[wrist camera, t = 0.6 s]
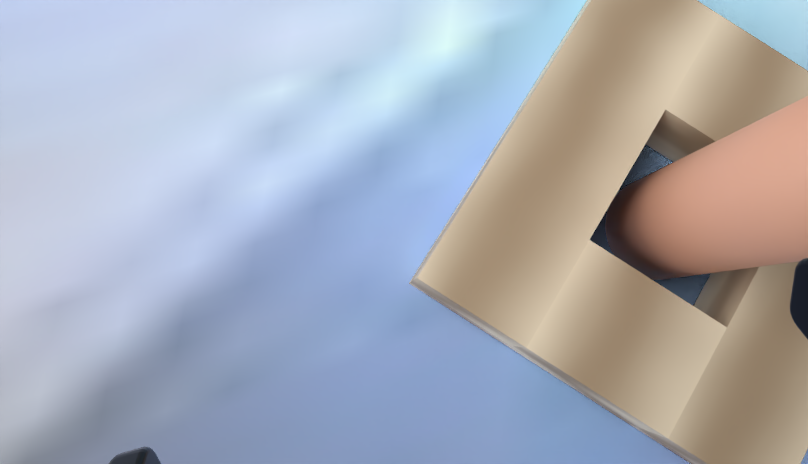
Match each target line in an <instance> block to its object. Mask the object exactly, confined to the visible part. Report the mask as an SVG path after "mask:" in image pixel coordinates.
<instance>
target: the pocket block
mask: <svg viewBox="0 0 808 464" xmlns="http://www.w3.org/2000/svg"><path fill="white" fill-rule="evenodd" d="M806 96H808V71H807V70H806V69H804V68H803V67H801V66H799V65H798V64H796V63H795V62H793V61H792V60H790V59H788V58H787V57H785V56H784V55H782V54H781V53H779V52H777V51H776V50H774V49H773V48H771V47H770V46H768V45H766V44H765V43H763V42H762V41H760V40H758V39H757V38H755V37H754V36H752V35H751V34H749V33H747V32H746V31H744V30H743V29H741V28H740V27H738V26H736V25H735V24H733V23H732V22H730V21H729V20H727V19H725V18H724V17H722V16H721V15H719V14H717V13H716V12H714V11H713V10H711V9H710V8H708V7H706V6H705V5H703V4H702V3H700V2H699V1H697V0H587V1H586V3H585V5H584V6H583V8H582V9H581V11H580V12H579V14H578V16H577V17H576V19H575V20H574V22H573V24H572V25H571V27H570V28H569V30H568V32H567V33H566V35H565V36H564V38H563V39H562V41H561V43H560V44H559V46H558V47H557V49H556V51H555V52H554V54H553V55H552V57H551V59H550V60H549V62H548V63H547V65H546V66H545V68H544V70H543V71H542V73H541V74H540V76H539V78H538V79H537V81H536V82H535V84H534V86H533V87H532V89H531V90H530V92H529V93H528V95H527V97H526V98H525V100H524V101H523V103H522V105H521V106H520V108H519V109H518V111H517V113H516V114H515V116H514V117H513V119H512V120H511V122H510V124H509V125H508V127H507V128H506V130H505V132H504V133H503V135H502V136H501V138H500V140H499V141H498V143H497V144H496V146H495V147H494V149H493V151H492V152H491V154H490V155H489V157H488V159H487V160H486V162H485V163H484V165H483V167H482V168H481V170H480V171H479V173H478V175H477V176H476V178H475V179H474V181H473V182H472V184H471V186H470V187H469V189H468V190H467V192H466V194H465V195H464V197H463V198H462V200H461V202H460V203H459V205H458V206H457V208H456V209H455V211H454V213H453V214H452V216H451V217H450V219H449V221H448V222H447V224H446V225H445V227H444V229H443V230H442V232H441V233H440V235H439V236H438V238H437V240H436V241H435V243H434V244H433V246H432V248H431V249H430V251H429V252H428V254H427V256H426V257H425V259H424V260H423V262H422V263H421V265H420V267H419V268H418V270H417V271H416V273H415V275H414V276H413V278H412V279H411V281H410V283H409V284H411V285H412V286H414V287H416V288H417V289H419V290H420V291H422V292H423V293H425V294H427V295H428V296H430V297H431V298H433V299H434V300H436V301H437V302H439V303H441V304H442V305H444V306H445V307H447V308H448V309H450V310H452V311H453V312H455V313H456V314H458V315H459V316H461V317H462V318H464V319H466V320H467V321H469V322H470V323H472V324H473V325H475V326H477V327H478V328H480V329H481V330H483V331H484V332H486V333H487V334H489V335H491V336H492V337H494V338H495V339H497V340H498V341H500V342H502V343H503V344H505V345H506V346H508V347H509V348H511V349H513V350H514V351H516V352H517V353H519V354H520V355H522V356H523V357H525V358H527V359H528V360H530V361H531V362H533V363H534V364H536V365H538V366H539V367H541V368H542V369H544V370H545V371H547V372H548V373H550V374H552V375H553V376H555V377H556V378H558V379H559V380H561V381H563V382H564V383H566V384H567V385H569V386H570V387H572V388H573V389H575V390H577V391H578V392H580V393H581V394H583V395H584V396H586V397H588V398H589V399H591V400H592V401H594V402H595V403H597V404H598V405H600V406H602V407H603V408H605V409H606V410H608V411H609V412H611V413H613V414H614V415H616V416H617V417H619V418H620V419H622V420H624V421H625V422H627V423H628V424H630V425H631V426H633V427H634V428H636V429H638V430H639V431H641V432H642V433H644V434H645V435H647V436H649V437H650V438H652V439H653V440H655V441H656V442H658V443H659V444H661V445H663V446H664V447H666V448H667V449H669V450H670V451H672V452H674V453H675V454H677V455H678V456H680V457H681V458H683V459H684V460H686V461H688V462H689V463H691V464H801V461H802V459H803V457H804V455H805V453H806V451H807V449H808V340H807V338H806V337H805V336H804V335H803V333H802V332H801V331H800V329H799V328H798V327H797V326H796V324H795V323H794V321H793V319H792V316H791V313H790V299H791V292H792V285H793V278H794V271H795V267H796V265H797V264H798V262H799V261H798V262H791V263H783V264H776V265H768V266H761V267H753V268H746V269H738V270H731V271H723V272H716V273H711V274H710V276H709V278H708V280H707V282H706V283H705V285H704V287H703V289H702V291H701V293H700V295H699V296H698V298H697V300H696V302H695V304H694V306H693V305H691V304H689V303H688V302H686V301H685V300H683V299H682V298H680V297H678V296H677V295H675V294H674V293H672V292H671V291H669V290H667V289H666V288H664V287H663V286H661V285H660V284H658V283H656V282H655V281H653V280H652V279H650V278H649V277H647V276H646V275H644V274H642V273H641V272H639V271H638V270H636V269H635V268H633V267H631V266H630V265H628V264H627V263H625V262H624V261H622V260H620V259H619V258H617V257H616V256H614V255H613V254H611V253H609V252H608V251H606V250H605V249H603V248H602V247H600V246H598V245H597V244H595V243H594V242H592V241H591V240H590V238H591V236H592V235H593V233H594V231H595V230H596V228H597V226H598V224H599V223H600V221H601V219H602V218H603V216H604V214H605V212H606V211H607V209H608V207H609V206H610V204H611V202H612V200H613V199H614V197H615V195H616V194H617V192H618V190H619V188H620V187H621V185H622V183H623V182H624V180H625V178H626V176H627V175H628V173H629V171H630V170H631V168H632V166H633V164H634V163H635V161H636V159H637V158H638V156H639V154H640V152H641V151H642V149H643V147H644V146H645V144H646V145H647V146H649V147H650V148H652V149H654V150H655V151H657V152H658V153H660V154H661V155H663V156H665V157H666V158H668V159H669V160H671V161H672V162H675V161H677V160H679V159H681V158H683V157H685V156H687V155H689V154H691V153H693V152H695V151H697V150H699V149H701V148H703V147H705V146H707V145H709V144H711V143H713V142H715V141H717V140H720V139H722V138H724V137H726V136H728V135H730V134H732V133H734V132H736V131H738V130H740V129H742V128H744V127H746V126H748V125H750V124H752V123H754V122H756V121H758V120H760V119H762V118H764V117H766V116H768V115H770V114H772V113H774V112H776V111H778V110H780V109H782V108H784V107H786V106H788V105H790V104H792V103H794V102H796V101H798V100H800V99H802V98H804V97H806Z"/></svg>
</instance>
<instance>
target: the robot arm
mask: <svg viewBox="0 0 808 464" xmlns="http://www.w3.org/2000/svg"><path fill="white" fill-rule="evenodd" d="M790 313H791V316H792V319H793V321H794V323H795V324H796V326H797V327H798V328H799V329H800V331H801V332H802V333H803V335H804V336H805V337H806V338H807V340H808V258H805V259H802V260H801V261H799V262H798V264H797V265H796V267H795V271H794V278H793V285H792V292H791V299H790ZM109 464H161V463H160V461H159V459H158V457H157V455H156V454H155V452H154V451H153V450H152V449H151V448H149V447H141V448H138V449H134V450H131V451H127V452H124V453H120V454H118V455H116V456H115V457H114V458H113V459H112V460H111V461H110V463H109Z"/></svg>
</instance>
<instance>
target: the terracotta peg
mask: <svg viewBox="0 0 808 464" xmlns="http://www.w3.org/2000/svg"><path fill="white" fill-rule="evenodd" d="M605 231H606V237H607V241H608V244H609V247H610V249H611V251H612V253H613V254H614V256H616V257H617V258H619V259H620V260H622V261H624V262H625V263H627V264H628V265H630V266H631V267H633V268H635V269H636V270H638V271H639V272H641V273H642V274H644V275H646V276H647V277H649V278H650V279H653V280H664V279H671V278H679V277H686V276H694V275H701V274H709V273H716V272H723V271H731V270H738V269H746V268H753V267H761V266H768V265H776V264H783V263H791V262H798V261H801V260H802V259H805V258H808V96H806V97H804V98H802V99H800V100H798V101H796V102H794V103H792V104H790V105H788V106H786V107H784V108H782V109H780V110H778V111H776V112H774V113H772V114H770V115H768V116H766V117H764V118H762V119H760V120H758V121H756V122H754V123H752V124H750V125H748V126H746V127H744V128H742V129H740V130H738V131H736V132H734V133H732V134H730V135H728V136H726V137H724V138H722V139H720V140H717V141H715V142H713V143H711V144H709V145H707V146H705V147H703V148H701V149H699V150H697V151H695V152H693V153H691V154H689V155H687V156H685V157H683V158H681V159H679V160H677V161H675V162H673V163H671V164H669V165H667V166H665V167H663V168H661V169H659V170H657V171H655V172H653V173H651V174H649V175H647V176H645V177H643V178H641V179H639V180H637V181H635V182H633V183H631V184H629V185H627V186H626V187H624V188H623V189H622V190H620V191H619V192H618V194H617V195H616V196H615V197H614V199H613V200H612V202H611V204H610V206H609V208H608V211H607V215H606V221H605Z"/></svg>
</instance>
